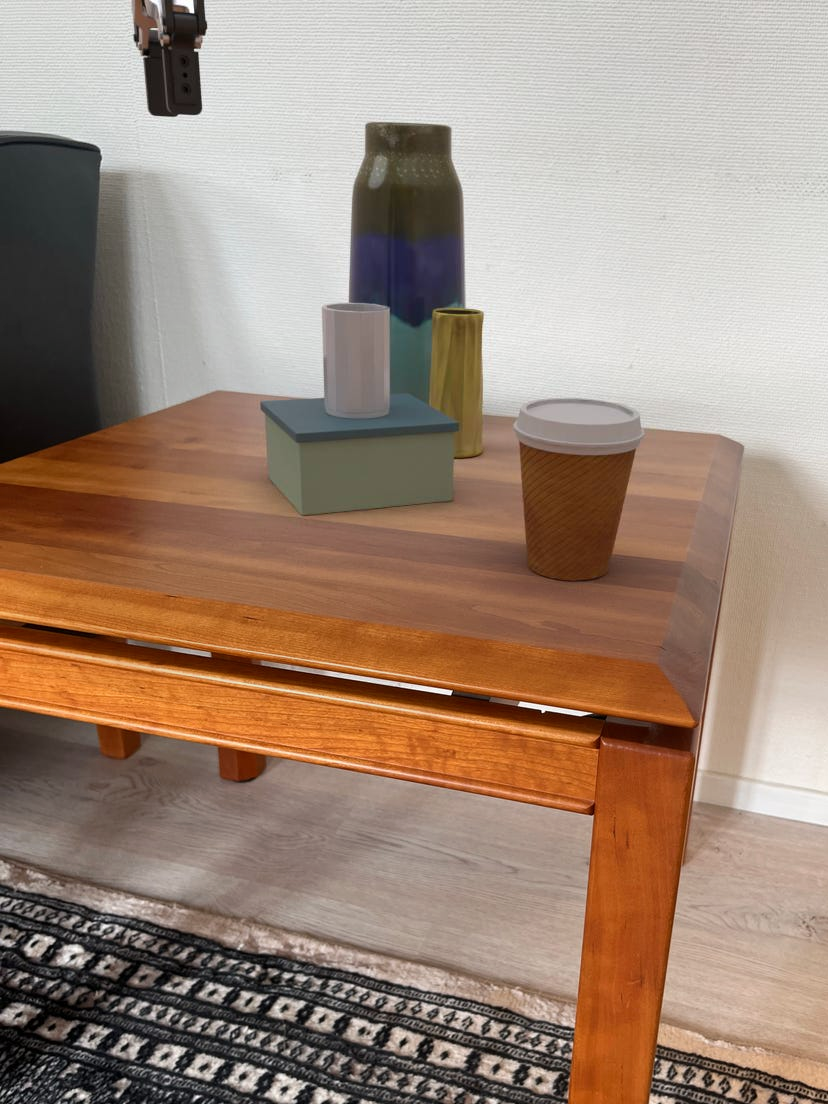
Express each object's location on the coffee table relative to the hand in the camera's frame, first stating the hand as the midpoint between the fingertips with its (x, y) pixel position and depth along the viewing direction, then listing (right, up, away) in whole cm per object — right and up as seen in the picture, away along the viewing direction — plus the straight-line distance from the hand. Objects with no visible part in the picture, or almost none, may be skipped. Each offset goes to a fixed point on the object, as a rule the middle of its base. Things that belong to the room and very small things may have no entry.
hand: (174, 115), depth 71 cm
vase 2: (+19, -17, +37) cm, 45 cm away
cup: (+10, -16, +20) cm, 28 cm away
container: (+10, -23, +23) cm, 34 cm away
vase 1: (+13, -10, +51) cm, 54 cm away
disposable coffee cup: (+28, -31, +7) cm, 43 cm away
